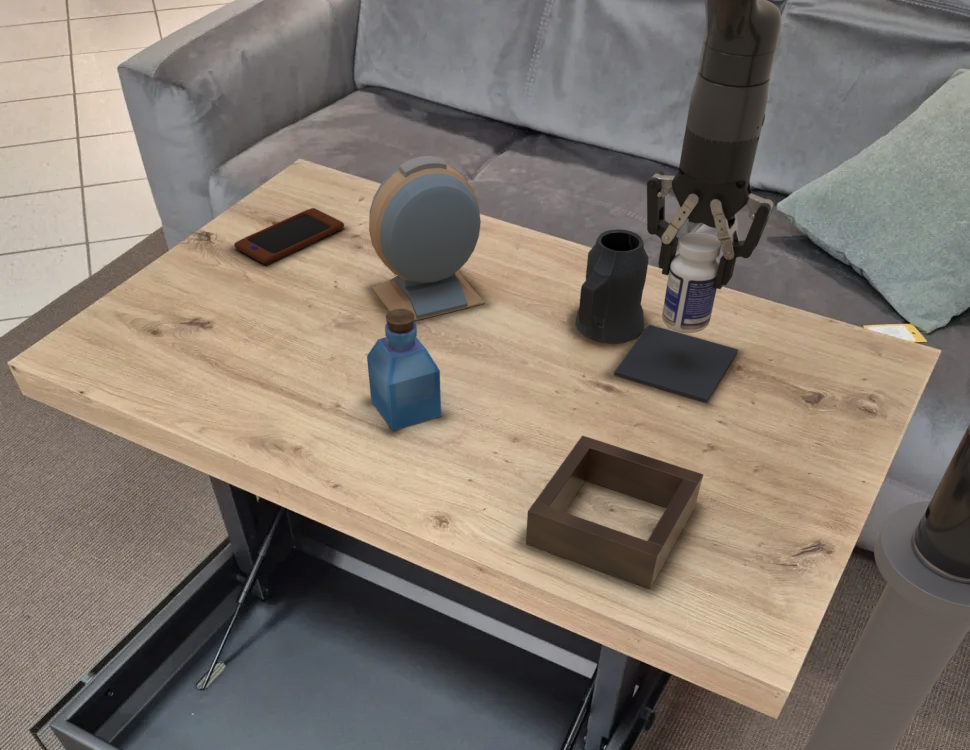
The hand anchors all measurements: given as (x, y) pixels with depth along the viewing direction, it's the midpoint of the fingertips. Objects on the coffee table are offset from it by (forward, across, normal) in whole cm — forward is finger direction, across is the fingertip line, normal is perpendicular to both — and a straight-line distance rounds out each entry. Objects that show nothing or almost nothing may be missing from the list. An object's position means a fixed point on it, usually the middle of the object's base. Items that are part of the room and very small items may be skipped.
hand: (693, 278), depth 108 cm
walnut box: (+11, +4, -31) cm, 33 cm away
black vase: (+12, -11, +3) cm, 16 cm away
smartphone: (+11, -60, +3) cm, 61 cm away
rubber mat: (+11, 0, 0) cm, 11 cm away
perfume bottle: (+12, -25, -24) cm, 37 cm away
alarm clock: (+12, -35, -1) cm, 37 cm away
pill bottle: (+6, 0, 0) cm, 6 cm away
